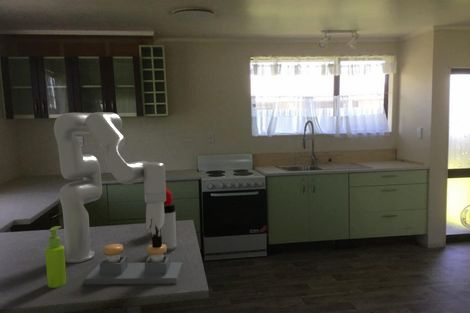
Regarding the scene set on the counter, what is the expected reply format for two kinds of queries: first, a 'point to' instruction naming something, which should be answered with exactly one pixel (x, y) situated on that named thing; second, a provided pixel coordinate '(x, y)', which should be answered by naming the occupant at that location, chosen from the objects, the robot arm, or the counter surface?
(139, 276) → the console
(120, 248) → the knob
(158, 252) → the knob
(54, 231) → the soap dispenser
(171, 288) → the counter surface
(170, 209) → the travel mug
